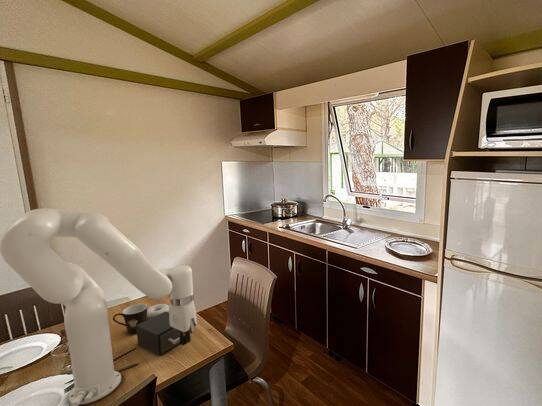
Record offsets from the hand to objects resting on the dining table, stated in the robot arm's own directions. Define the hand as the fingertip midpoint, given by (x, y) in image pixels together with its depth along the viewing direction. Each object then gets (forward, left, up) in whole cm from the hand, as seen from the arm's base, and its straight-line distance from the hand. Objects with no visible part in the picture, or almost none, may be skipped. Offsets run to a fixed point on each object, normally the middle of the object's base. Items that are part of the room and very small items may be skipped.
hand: (185, 342), depth 105 cm
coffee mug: (+23, +24, -4) cm, 33 cm away
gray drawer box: (+10, +10, -4) cm, 14 cm away
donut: (+34, +18, -4) cm, 39 cm away
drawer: (+7, +7, -3) cm, 10 cm away
